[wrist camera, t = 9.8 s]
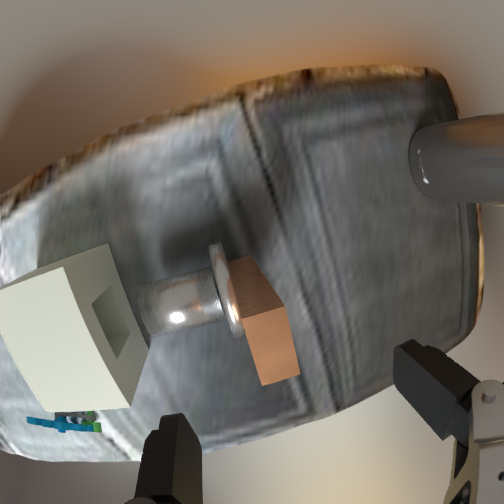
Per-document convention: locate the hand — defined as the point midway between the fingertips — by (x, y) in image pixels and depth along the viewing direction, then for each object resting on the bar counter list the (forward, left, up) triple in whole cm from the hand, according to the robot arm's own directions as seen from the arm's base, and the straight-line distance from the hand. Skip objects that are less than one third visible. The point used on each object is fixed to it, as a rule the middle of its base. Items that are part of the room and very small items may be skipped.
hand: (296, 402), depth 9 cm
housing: (+17, 0, -19) cm, 25 cm away
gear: (+27, +13, -19) cm, 36 cm away
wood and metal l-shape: (+4, 0, -18) cm, 18 cm away
